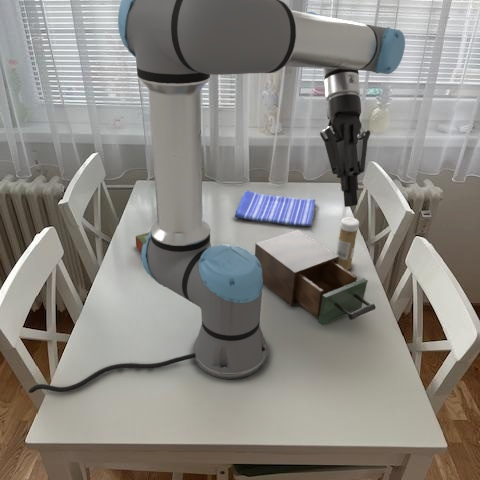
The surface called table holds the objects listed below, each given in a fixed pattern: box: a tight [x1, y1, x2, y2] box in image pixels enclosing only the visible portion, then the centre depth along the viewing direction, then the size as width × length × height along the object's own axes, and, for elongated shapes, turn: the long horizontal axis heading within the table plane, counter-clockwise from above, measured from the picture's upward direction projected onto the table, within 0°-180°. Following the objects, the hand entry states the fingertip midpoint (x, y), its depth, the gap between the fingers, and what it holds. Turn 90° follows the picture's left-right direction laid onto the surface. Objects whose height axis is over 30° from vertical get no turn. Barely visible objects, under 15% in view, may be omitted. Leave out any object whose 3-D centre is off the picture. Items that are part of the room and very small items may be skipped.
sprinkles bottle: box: [335, 217, 360, 271], centre depth 127 cm, size 5×5×13 cm
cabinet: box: [254, 229, 339, 307], centre depth 122 cm, size 16×14×10 cm
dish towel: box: [234, 190, 316, 227], centre depth 155 cm, size 17×24×3 cm
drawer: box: [294, 261, 376, 326], centre depth 113 cm, size 20×12×8 cm, turn 34°
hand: (351, 205), depth 112 cm, fingers closed
